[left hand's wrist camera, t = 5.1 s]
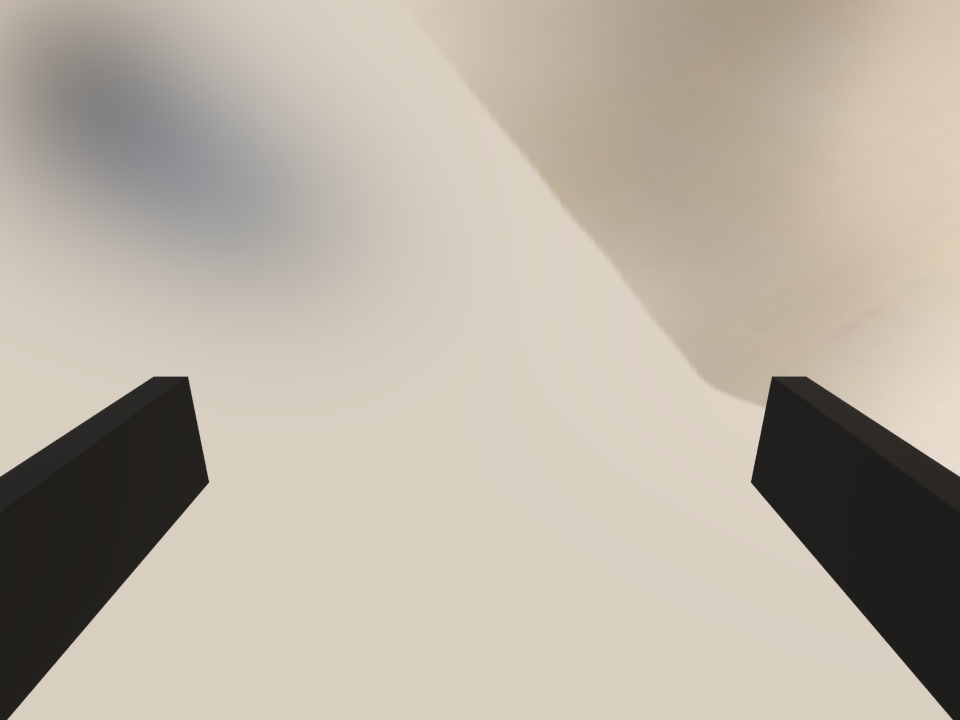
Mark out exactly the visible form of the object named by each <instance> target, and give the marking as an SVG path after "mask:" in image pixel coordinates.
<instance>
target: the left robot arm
mask: <svg viewBox="0 0 960 720" xmlns="http://www.w3.org/2000/svg"><path fill="white" fill-rule="evenodd" d="M208 483H209V480H208V475H207V470H206V465H205V460H204V455H203V450H202V445H201V440H200V435H199V430H198V425H197V420H196V415H195V410H194V405H193V400H192V395H191V390H190V385H189V380H188V377H152V378H151V379H149V380H148V381H146V382H145V383H143V384H142V385H140V386H139V387H137V388H136V389H134V390H133V391H131V392H130V393H128V394H126V395H125V396H123V397H122V398H120V399H119V400H117V401H116V402H114V403H113V404H111V405H110V406H108V407H107V408H105V409H103V410H102V411H100V412H99V413H97V414H96V415H94V416H93V417H91V418H90V419H88V420H87V421H85V422H84V423H82V424H80V425H79V426H77V427H76V428H74V429H73V430H71V431H70V432H68V433H67V434H65V435H64V436H62V437H61V438H59V439H57V440H56V441H54V442H53V443H51V444H50V445H48V446H47V447H45V448H44V449H42V450H41V451H39V452H38V453H36V454H34V455H33V456H31V457H30V458H28V459H27V460H25V461H24V462H22V463H21V464H19V465H18V466H16V467H15V468H13V469H12V470H10V471H8V472H7V473H5V474H4V475H2V476H1V477H0V720H7V719H8V718H9V717H10V716H11V715H12V713H13V712H14V711H15V710H16V709H17V708H18V706H19V705H20V704H21V703H22V702H23V701H24V699H25V698H26V697H27V696H28V695H29V693H30V692H31V691H32V690H33V689H34V688H35V686H36V685H37V684H38V683H39V682H40V681H41V679H42V678H43V677H44V676H45V675H46V674H47V672H48V671H49V670H50V669H51V668H52V666H53V665H54V664H55V663H56V662H57V661H58V659H59V658H60V657H61V656H62V655H63V654H64V652H65V651H66V650H67V649H68V648H69V646H70V645H71V644H72V643H73V642H74V641H75V639H76V638H77V637H78V636H79V635H80V633H81V632H82V631H83V630H84V629H85V628H86V626H87V625H88V624H89V623H90V622H91V621H92V619H93V618H94V617H95V616H96V615H97V614H98V612H99V611H100V610H101V609H102V608H103V606H104V605H105V604H106V603H107V602H108V601H109V599H110V598H111V597H112V596H113V595H114V593H115V592H116V591H117V590H118V589H119V588H120V586H121V585H122V584H123V583H124V582H125V581H126V579H127V578H128V577H129V576H130V575H131V574H132V572H133V571H134V570H135V569H136V568H137V567H138V565H139V564H140V563H141V562H142V561H143V559H144V558H145V557H146V556H147V555H148V554H149V552H150V551H151V550H152V549H153V548H154V546H155V545H156V544H157V543H158V542H159V541H160V539H161V538H162V537H163V536H164V535H165V534H166V532H167V531H168V530H169V529H170V528H171V526H172V525H173V524H174V523H175V522H176V521H177V519H178V518H179V517H180V516H181V515H182V514H183V512H184V511H185V510H186V509H187V508H188V507H189V505H190V504H191V503H192V502H193V501H194V499H195V498H196V497H197V496H198V495H199V494H200V492H201V491H202V490H203V489H204V488H205V487H206V485H207V484H208ZM751 483H752V484H753V485H754V487H755V488H756V489H757V490H758V491H759V492H760V494H761V495H762V496H763V497H764V498H765V499H766V501H767V502H768V503H769V504H770V505H771V507H772V508H773V509H774V510H775V511H776V512H777V514H778V515H779V516H780V517H781V518H782V519H783V521H784V522H785V523H786V524H787V525H788V527H789V528H790V529H791V530H792V531H793V532H794V534H795V535H796V536H797V537H798V538H799V539H800V541H801V542H802V543H803V544H804V545H805V547H806V548H807V549H808V550H809V551H810V552H811V554H812V555H813V556H814V557H815V558H816V559H817V561H818V562H819V563H820V564H821V565H822V566H823V568H824V569H825V570H826V571H827V572H828V574H829V575H830V576H831V577H832V578H833V579H834V581H835V582H836V583H837V584H838V585H839V587H840V588H841V589H842V590H843V591H844V592H845V594H846V595H847V596H848V597H849V598H850V599H851V601H852V602H853V603H854V604H855V605H856V606H857V608H858V609H859V610H860V611H861V612H862V614H863V615H864V616H865V617H866V618H867V619H868V621H869V622H870V623H871V624H872V625H873V626H874V628H875V629H876V630H877V631H878V632H879V633H880V635H881V636H882V637H883V638H884V639H885V641H886V642H887V643H888V644H889V645H890V646H891V648H892V649H893V650H894V651H895V652H896V654H897V655H898V656H899V657H900V658H901V659H902V661H903V662H904V663H905V664H906V665H907V666H908V668H909V669H910V670H911V671H912V672H913V674H914V675H915V676H916V677H917V678H918V679H919V681H920V682H921V683H922V684H923V685H924V686H925V688H926V689H927V690H928V691H929V692H930V693H931V695H932V696H933V697H934V698H935V699H936V701H937V702H938V703H939V704H940V705H941V706H942V708H943V709H944V710H945V711H946V712H947V713H948V715H949V716H950V717H951V718H952V719H953V720H960V477H959V476H958V475H956V474H955V473H953V472H952V471H950V470H948V469H947V468H945V467H944V466H942V465H941V464H939V463H938V462H936V461H935V460H933V459H932V458H930V457H929V456H927V455H926V454H924V453H922V452H921V451H919V450H918V449H916V448H915V447H913V446H912V445H910V444H909V443H907V442H906V441H904V440H903V439H901V438H899V437H898V436H896V435H895V434H893V433H892V432H890V431H889V430H887V429H886V428H884V427H883V426H881V425H880V424H878V423H876V422H875V421H873V420H872V419H870V418H869V417H867V416H866V415H864V414H863V413H861V412H860V411H858V410H857V409H855V408H853V407H852V406H850V405H849V404H847V403H846V402H844V401H843V400H841V399H840V398H838V397H837V396H835V395H834V394H832V393H830V392H829V391H827V390H826V389H824V388H823V387H821V386H820V385H818V384H817V383H815V382H814V381H812V380H811V379H809V378H808V377H772V380H771V385H770V390H769V395H768V400H767V405H766V410H765V415H764V420H763V425H762V430H761V435H760V440H759V445H758V450H757V455H756V460H755V465H754V470H753V475H752V480H751Z"/></svg>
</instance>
